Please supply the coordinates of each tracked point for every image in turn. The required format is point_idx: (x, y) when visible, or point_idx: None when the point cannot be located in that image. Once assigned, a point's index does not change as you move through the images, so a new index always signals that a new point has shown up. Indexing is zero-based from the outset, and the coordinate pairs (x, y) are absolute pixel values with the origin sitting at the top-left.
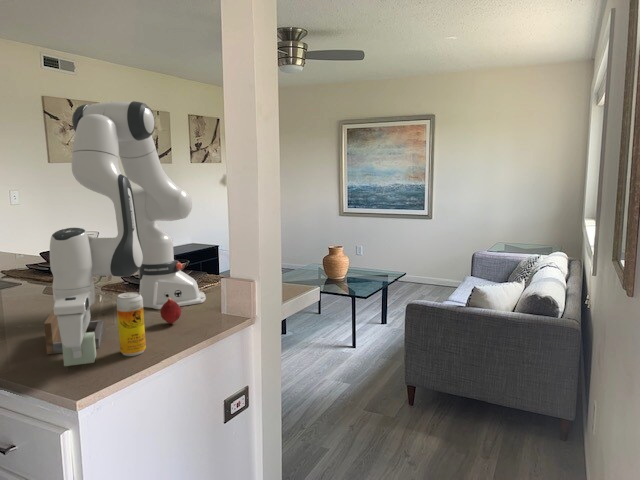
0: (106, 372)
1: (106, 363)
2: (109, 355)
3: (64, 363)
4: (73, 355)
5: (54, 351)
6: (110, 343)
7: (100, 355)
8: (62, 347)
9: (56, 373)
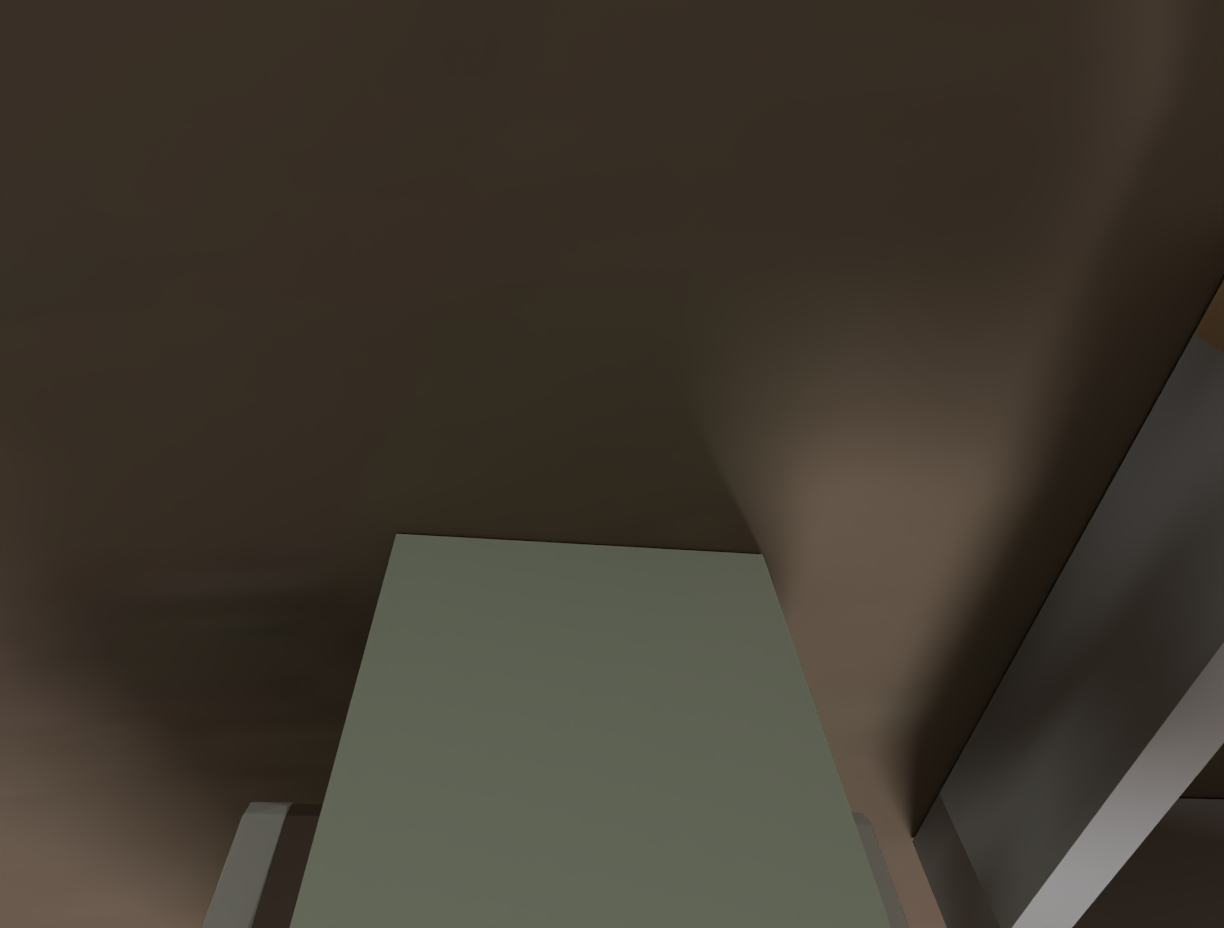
0: (28, 921)
1: None
2: None
3: (390, 574)
4: (233, 848)
5: (1214, 366)
6: None
7: None
8: (306, 885)
9: (81, 447)
